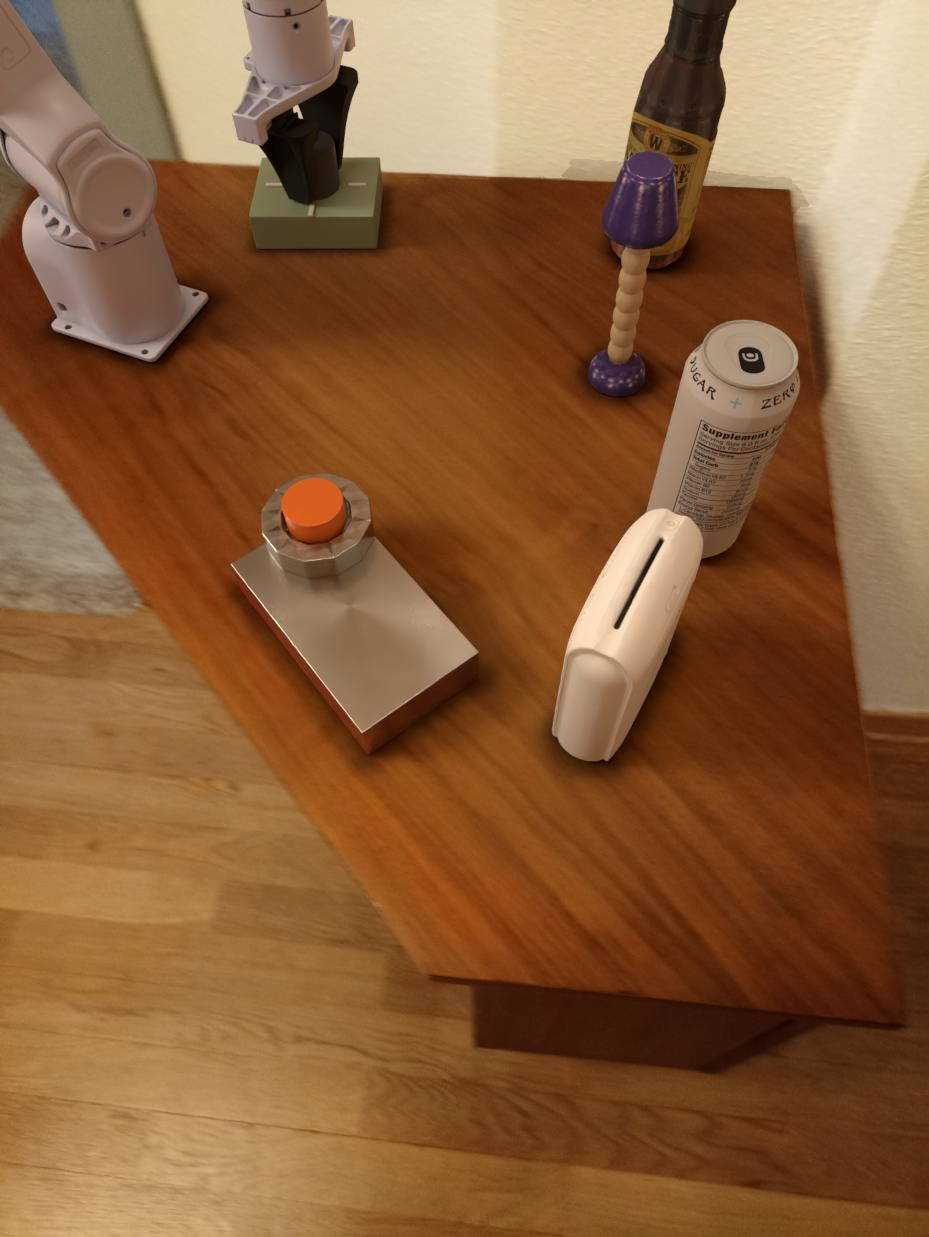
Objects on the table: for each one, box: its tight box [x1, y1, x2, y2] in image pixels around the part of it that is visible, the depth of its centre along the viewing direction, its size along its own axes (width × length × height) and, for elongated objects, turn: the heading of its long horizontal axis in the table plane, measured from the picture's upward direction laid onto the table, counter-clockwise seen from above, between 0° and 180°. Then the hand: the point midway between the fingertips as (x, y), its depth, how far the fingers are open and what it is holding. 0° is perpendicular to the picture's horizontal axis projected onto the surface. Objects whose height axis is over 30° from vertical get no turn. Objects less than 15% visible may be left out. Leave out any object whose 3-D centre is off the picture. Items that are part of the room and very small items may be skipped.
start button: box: [281, 478, 347, 544], centre depth 52 cm, size 4×4×2 cm
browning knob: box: [313, 130, 340, 200], centre depth 71 cm, size 4×4×4 cm
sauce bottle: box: [610, 0, 738, 270], centre depth 64 cm, size 6×6×20 cm
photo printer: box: [551, 508, 703, 762], centre depth 47 cm, size 10×4×12 cm, turn 152°
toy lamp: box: [587, 151, 679, 398], centre depth 58 cm, size 5×5×17 cm
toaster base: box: [230, 472, 480, 756], centre depth 52 cm, size 16×9×5 cm, turn 38°
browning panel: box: [248, 156, 384, 250], centre depth 74 cm, size 10×8×3 cm
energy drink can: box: [645, 319, 801, 560], centre depth 51 cm, size 6×6×15 cm
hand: (315, 182), depth 72 cm, fingers open, 4 cm apart
